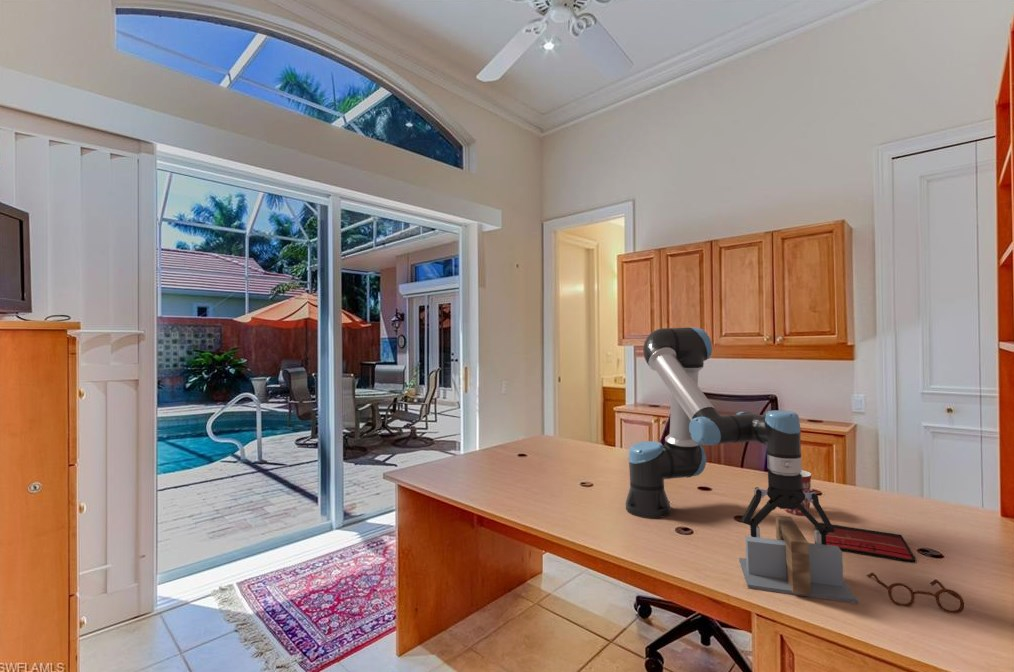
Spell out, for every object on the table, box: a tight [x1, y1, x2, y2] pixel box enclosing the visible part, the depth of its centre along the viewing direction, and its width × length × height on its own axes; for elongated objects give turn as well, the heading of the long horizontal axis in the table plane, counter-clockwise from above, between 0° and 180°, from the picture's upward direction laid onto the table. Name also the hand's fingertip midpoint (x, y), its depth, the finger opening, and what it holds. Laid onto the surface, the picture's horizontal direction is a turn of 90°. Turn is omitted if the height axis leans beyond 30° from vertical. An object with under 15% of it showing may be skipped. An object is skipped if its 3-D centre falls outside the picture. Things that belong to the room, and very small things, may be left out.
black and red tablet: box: [814, 522, 917, 564], centre depth 128 cm, size 16×2×21 cm
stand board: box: [738, 535, 859, 605], centre depth 110 cm, size 22×14×9 cm, turn 70°
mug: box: [784, 469, 813, 517], centre depth 154 cm, size 13×9×14 cm
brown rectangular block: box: [775, 514, 811, 595], centre depth 110 cm, size 4×16×12 cm, turn 160°
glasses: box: [866, 572, 965, 615], centre depth 103 cm, size 13×13×5 cm
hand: (787, 554), depth 115 cm, fingers open, 13 cm apart
